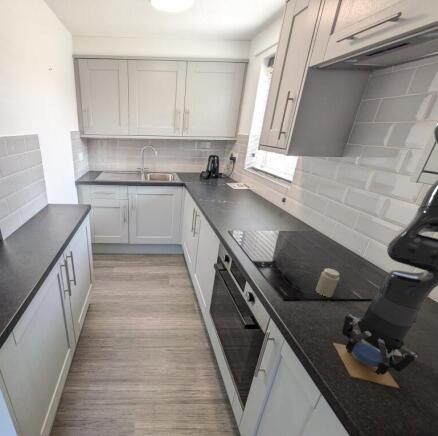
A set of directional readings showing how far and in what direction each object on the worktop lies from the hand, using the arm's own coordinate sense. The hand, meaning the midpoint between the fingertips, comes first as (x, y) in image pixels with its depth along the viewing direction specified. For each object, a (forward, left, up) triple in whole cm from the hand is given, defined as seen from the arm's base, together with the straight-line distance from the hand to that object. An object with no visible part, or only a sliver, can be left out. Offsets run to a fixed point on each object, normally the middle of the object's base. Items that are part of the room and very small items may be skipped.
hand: (363, 361), depth 61 cm
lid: (0, 0, +3) cm, 3 cm away
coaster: (0, 0, -1) cm, 1 cm away
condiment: (-8, -9, -1) cm, 12 cm away
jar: (-2, -31, -1) cm, 31 cm away
